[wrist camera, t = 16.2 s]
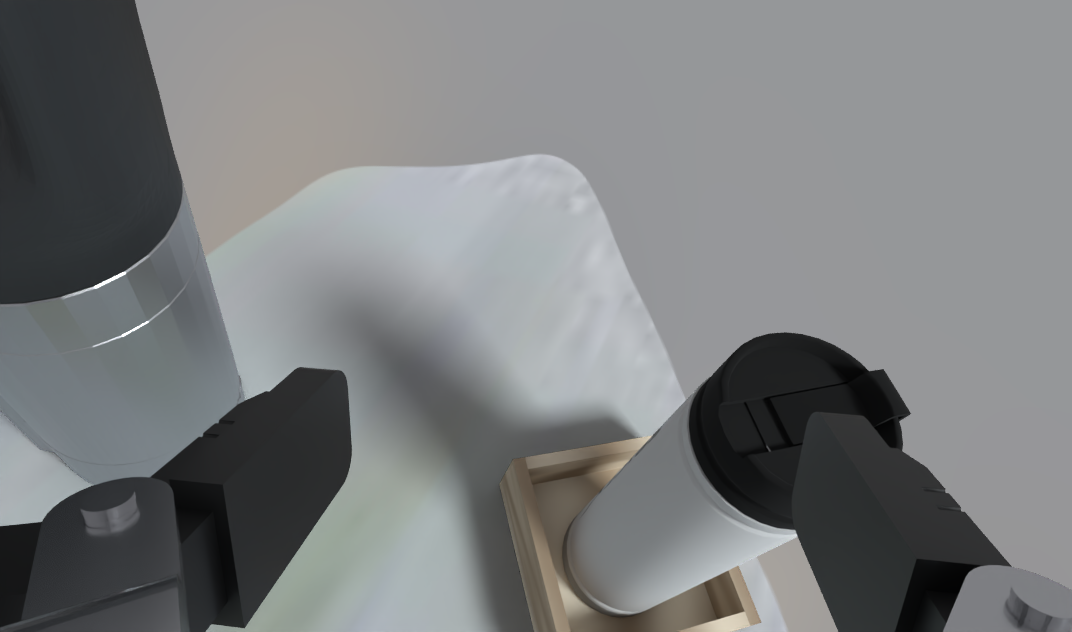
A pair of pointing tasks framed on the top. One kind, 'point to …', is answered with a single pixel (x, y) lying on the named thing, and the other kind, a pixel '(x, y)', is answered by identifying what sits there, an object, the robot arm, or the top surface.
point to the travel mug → (718, 473)
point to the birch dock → (538, 533)
